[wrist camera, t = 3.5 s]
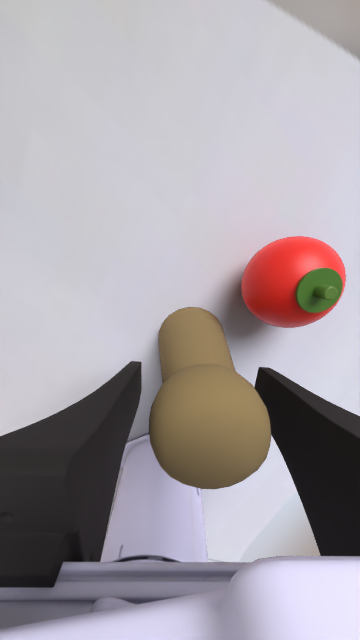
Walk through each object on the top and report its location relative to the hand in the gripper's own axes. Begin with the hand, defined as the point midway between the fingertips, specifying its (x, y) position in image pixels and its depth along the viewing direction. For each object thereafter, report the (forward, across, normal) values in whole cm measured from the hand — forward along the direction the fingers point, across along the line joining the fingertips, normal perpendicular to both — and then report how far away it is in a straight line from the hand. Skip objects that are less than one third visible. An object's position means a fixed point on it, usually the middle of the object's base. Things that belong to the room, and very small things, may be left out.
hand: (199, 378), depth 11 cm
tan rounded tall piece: (+6, 0, 0) cm, 6 cm away
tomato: (+6, -6, -6) cm, 10 cm away
